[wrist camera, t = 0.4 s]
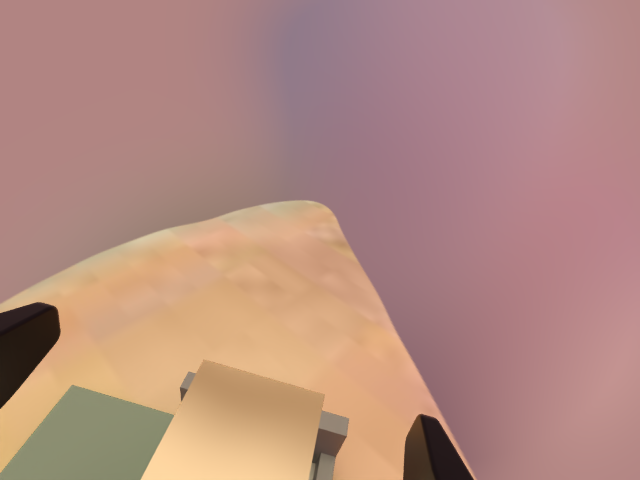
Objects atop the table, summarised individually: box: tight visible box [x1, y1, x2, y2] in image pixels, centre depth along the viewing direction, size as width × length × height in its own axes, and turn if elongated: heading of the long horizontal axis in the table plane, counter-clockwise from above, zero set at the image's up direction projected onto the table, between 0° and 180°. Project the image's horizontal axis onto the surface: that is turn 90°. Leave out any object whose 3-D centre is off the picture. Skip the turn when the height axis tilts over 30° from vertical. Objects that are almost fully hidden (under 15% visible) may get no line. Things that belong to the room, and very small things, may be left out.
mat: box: [0, 385, 174, 480], centre depth 20 cm, size 7×7×1 cm
